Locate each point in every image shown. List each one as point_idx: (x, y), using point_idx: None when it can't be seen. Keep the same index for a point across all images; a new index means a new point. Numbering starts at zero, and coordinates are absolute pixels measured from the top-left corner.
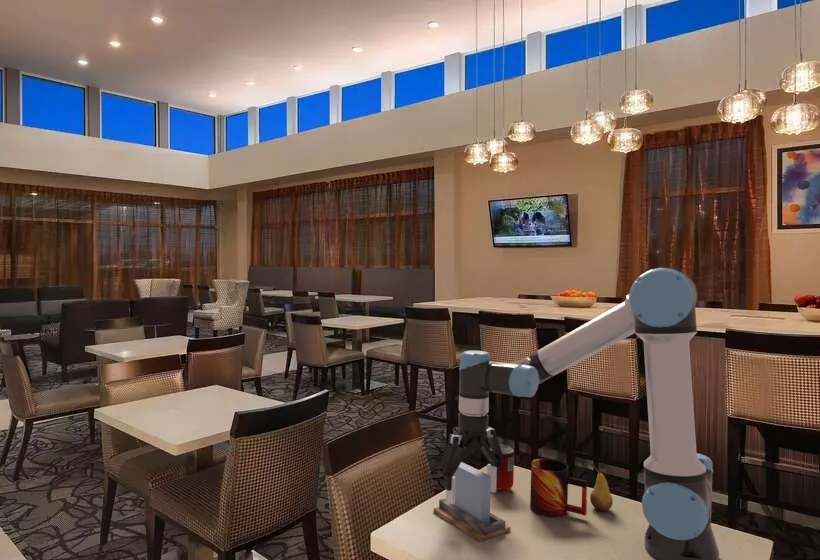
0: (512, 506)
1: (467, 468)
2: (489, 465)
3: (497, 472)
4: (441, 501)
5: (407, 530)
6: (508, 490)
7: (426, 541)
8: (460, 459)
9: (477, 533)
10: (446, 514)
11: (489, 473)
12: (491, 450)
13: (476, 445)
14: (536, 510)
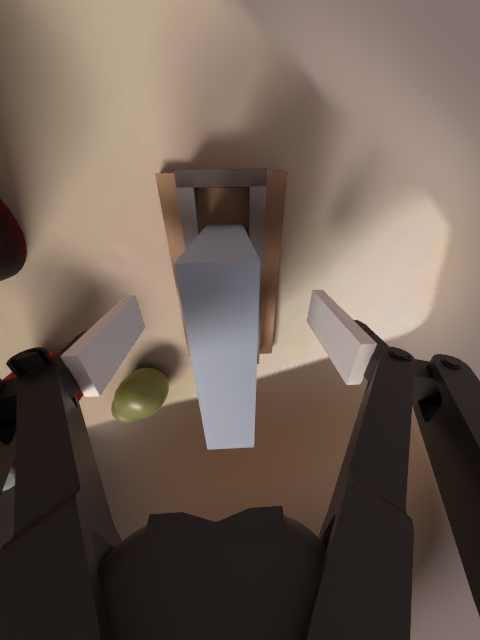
0: (76, 292)
1: (230, 394)
2: (94, 385)
3: (71, 344)
4: (258, 357)
5: (369, 312)
6: (50, 353)
7: (382, 253)
8: (386, 435)
9: (274, 197)
10: (268, 321)
11: (114, 355)
12: (14, 476)
13: (196, 597)
14: (8, 224)
